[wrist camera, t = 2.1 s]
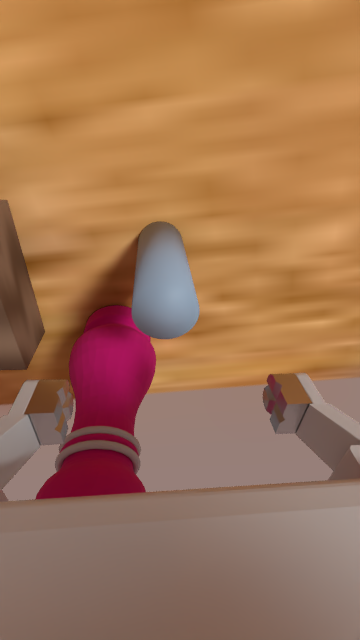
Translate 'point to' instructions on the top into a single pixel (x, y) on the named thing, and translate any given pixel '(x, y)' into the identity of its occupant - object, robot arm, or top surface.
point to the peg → (163, 284)
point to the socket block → (16, 300)
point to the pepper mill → (104, 408)
